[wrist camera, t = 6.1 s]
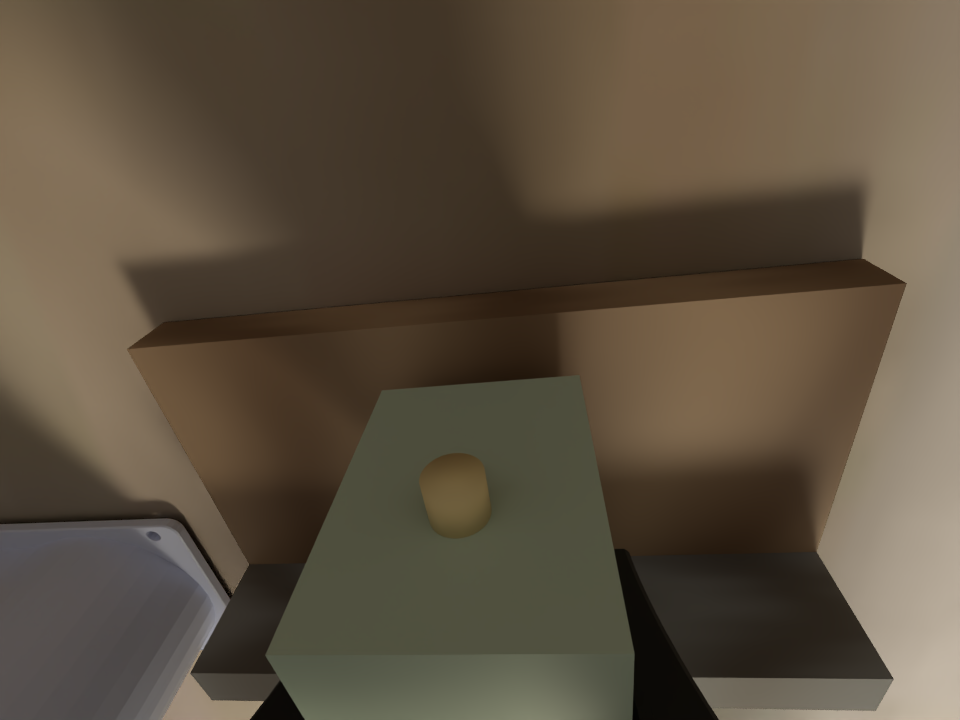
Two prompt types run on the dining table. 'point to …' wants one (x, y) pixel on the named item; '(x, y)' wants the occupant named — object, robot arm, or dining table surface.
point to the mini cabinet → (464, 567)
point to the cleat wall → (616, 439)
